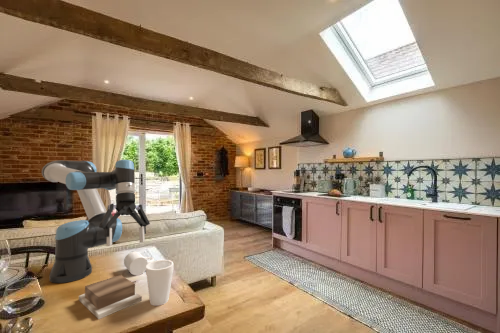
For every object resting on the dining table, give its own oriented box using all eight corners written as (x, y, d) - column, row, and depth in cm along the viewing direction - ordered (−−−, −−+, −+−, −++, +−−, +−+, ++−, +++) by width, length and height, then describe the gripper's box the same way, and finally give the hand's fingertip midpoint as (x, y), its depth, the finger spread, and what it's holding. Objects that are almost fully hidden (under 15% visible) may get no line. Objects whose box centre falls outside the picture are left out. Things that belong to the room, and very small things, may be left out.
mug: (129, 277, 105) (129, 259, 105) (123, 270, 113) (123, 253, 113) (156, 270, 113) (157, 253, 113) (149, 264, 121) (150, 248, 121)
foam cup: (148, 311, 80) (149, 272, 80) (142, 299, 88) (143, 263, 88) (176, 302, 86) (177, 265, 86) (168, 291, 93) (169, 258, 94)
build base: (78, 300, 87) (79, 284, 87) (119, 285, 98) (119, 272, 98) (98, 319, 76) (98, 301, 76) (141, 300, 87) (141, 285, 87)
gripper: (98, 189, 94) (97, 245, 87) (155, 193, 114) (158, 239, 107) (90, 194, 98) (88, 248, 91) (146, 197, 117) (149, 242, 111)
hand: (126, 243), depth 99 cm, fingers open, 13 cm apart
